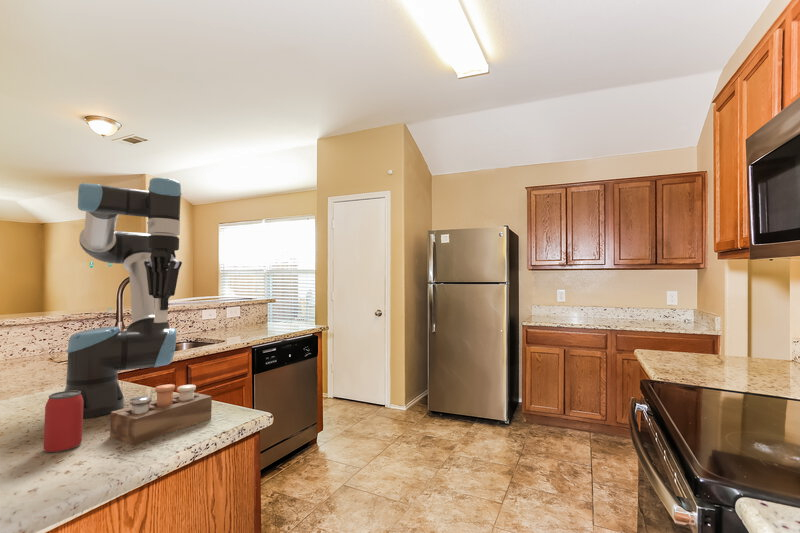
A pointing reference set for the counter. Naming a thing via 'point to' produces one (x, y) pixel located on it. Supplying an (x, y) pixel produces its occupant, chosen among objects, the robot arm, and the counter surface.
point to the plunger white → (186, 392)
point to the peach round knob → (164, 395)
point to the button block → (159, 419)
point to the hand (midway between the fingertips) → (160, 322)
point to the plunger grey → (140, 404)
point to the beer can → (63, 421)
